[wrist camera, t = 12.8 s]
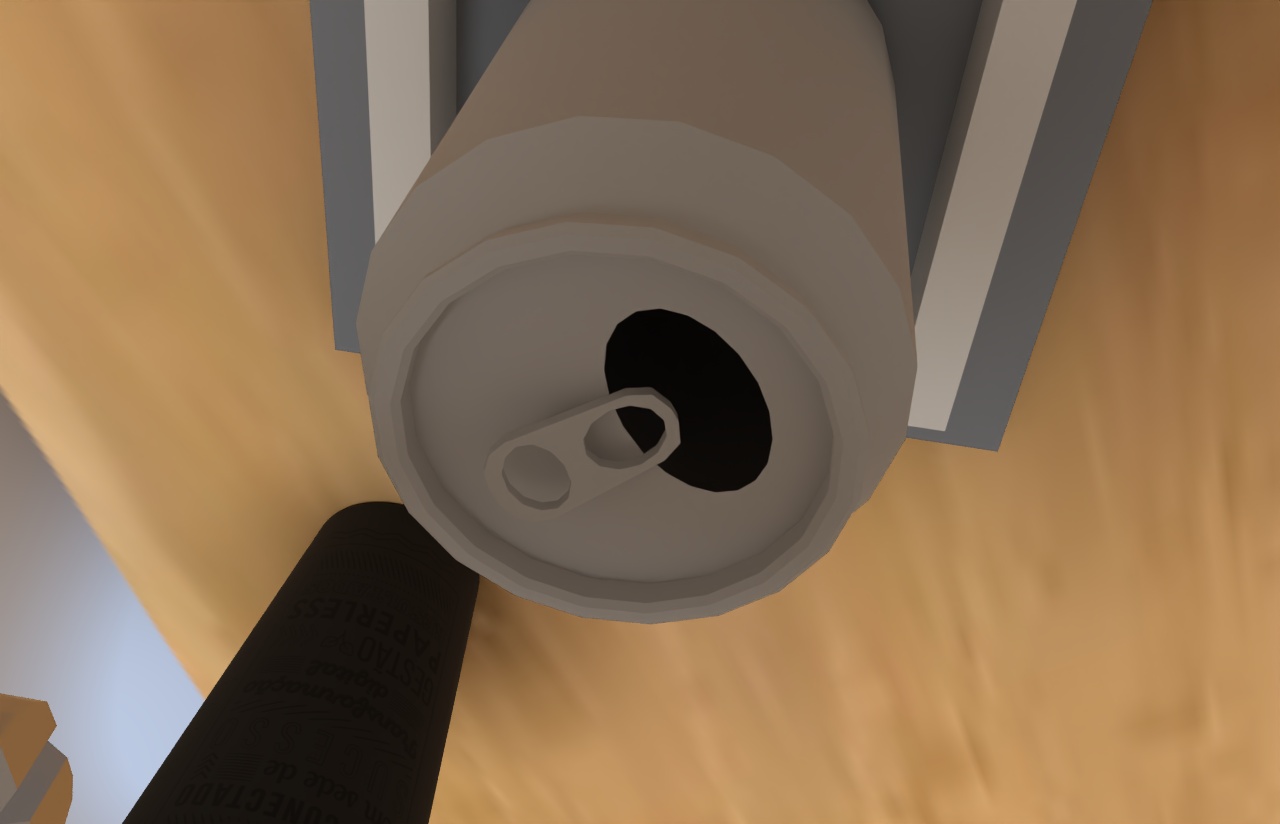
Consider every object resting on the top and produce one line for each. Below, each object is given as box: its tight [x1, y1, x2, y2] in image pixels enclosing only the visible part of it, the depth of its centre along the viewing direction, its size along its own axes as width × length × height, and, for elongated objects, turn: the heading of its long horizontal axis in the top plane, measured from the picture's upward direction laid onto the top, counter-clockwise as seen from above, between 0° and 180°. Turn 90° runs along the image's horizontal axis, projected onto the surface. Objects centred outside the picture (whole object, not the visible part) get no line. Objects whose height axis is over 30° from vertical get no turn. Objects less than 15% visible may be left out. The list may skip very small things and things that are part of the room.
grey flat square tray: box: [310, 0, 1153, 452], centre depth 24 cm, size 16×16×3 cm
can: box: [356, 0, 918, 624], centre depth 20 cm, size 8×8×12 cm
